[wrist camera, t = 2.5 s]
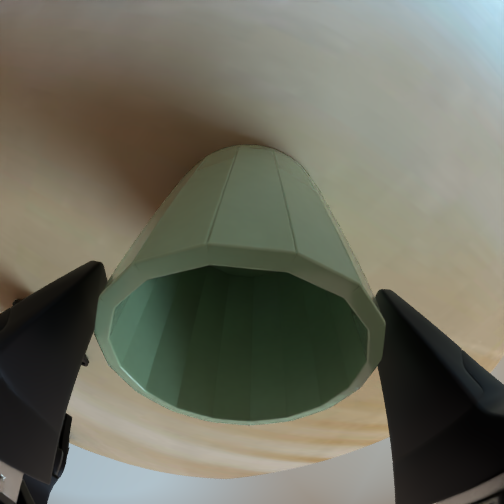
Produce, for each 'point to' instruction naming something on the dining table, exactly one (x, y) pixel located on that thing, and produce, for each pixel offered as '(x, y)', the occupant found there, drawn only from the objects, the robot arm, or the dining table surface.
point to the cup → (242, 297)
